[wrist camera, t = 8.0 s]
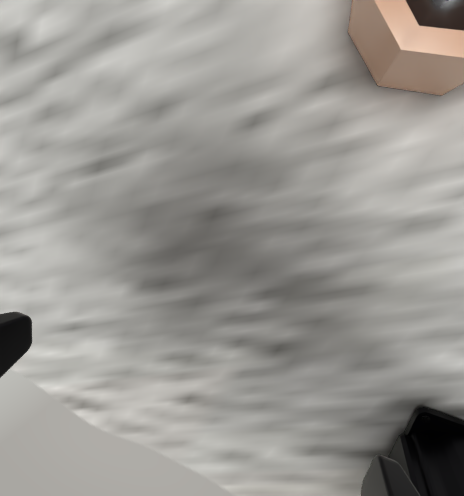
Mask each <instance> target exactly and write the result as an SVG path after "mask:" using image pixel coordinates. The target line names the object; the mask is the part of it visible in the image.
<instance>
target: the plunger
mask: <svg viewBox="0 0 464 496" xmlns="http://www.w3.org/2000/svg"><path fill="white" fill-rule="evenodd" d="M406 2H407V4H408V6H409V8H410V10H411V11H412V13H413V15H414V17H415V19H416V21H417V23H418V25H419V26H426V27H435V28H444V29H453V30H462V31H464V0H406Z"/></svg>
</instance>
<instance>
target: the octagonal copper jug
mask: <svg viewBox="0 0 464 496" xmlns="http://www.w3.org/2000/svg"><path fill="white" fill-rule="evenodd" d="M348 33H349V35H350V37H351V39H352V41H353V42H354V44H355V46H356V48H357V50H358V51H359V53H360V55H361V57H362V59H363V60H364V62H365V64H366V66H367V68H368V69H369V71H370V73H371V75H372V77H373V78H374V80H375V82H376V84H377V86H383V87H389V88H396V89H402V90H409V91H415V92H422V93H428V94H435V95H444V94H445V93H447V92H449V91H451V90H453V89H454V88H456V87H458V86H460V85H462V84H463V83H464V31H462V30H453V29H444V28H435V27H426V26H419V25H418V23H417V21H416V19H415V17H414V15H413V13H412V11H411V10H410V8H409V6H408V4H407V2H406V0H352V6H351V13H350V21H349V28H348Z"/></svg>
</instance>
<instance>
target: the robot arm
mask: <svg viewBox="0 0 464 496" xmlns="http://www.w3.org/2000/svg"><path fill="white" fill-rule="evenodd" d="M31 344H32V321H31V318H30V317H29V316H27V315H24V314H22V313H19V312H10V313H4V314H0V378H1V376H3V374H5V372H7V371H8V370H9V369H10V368H11V367H12V366H13V365H14V364H15V363H16V362H17V361H18V360H19V359H20V358H21V357H22V356H23V355H24V354H25V353H26V352H27V351H28V350H29V348H30V346H31ZM423 416H428V417H427V418H422V417H423ZM361 496H464V421H463V420H460V419H457V418H454V417H451V416H449V415H446V414H443V413H440V412H437V411H434V410H432V409H429V408H425V407H422V408H418V409H417V410H416V411H415V413H414V415H413V417H412V419H411V421H410V423H409V425H408V427H407V429H406V431H405V433H404V434H401V435H400V436H399V437H398V439H397V441H396V443H395V445H394V447H393V449H392V451H391V453H390V455H389V457H385V456H383V455H376V456H375V457H374V459H373V461H372V463H371V465H370V467H369V469H368V471H367V473H366V475H365V478H364V480H363V483H362V489H361Z"/></svg>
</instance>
